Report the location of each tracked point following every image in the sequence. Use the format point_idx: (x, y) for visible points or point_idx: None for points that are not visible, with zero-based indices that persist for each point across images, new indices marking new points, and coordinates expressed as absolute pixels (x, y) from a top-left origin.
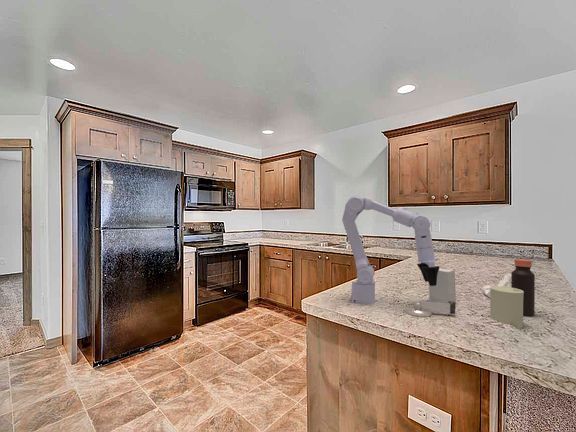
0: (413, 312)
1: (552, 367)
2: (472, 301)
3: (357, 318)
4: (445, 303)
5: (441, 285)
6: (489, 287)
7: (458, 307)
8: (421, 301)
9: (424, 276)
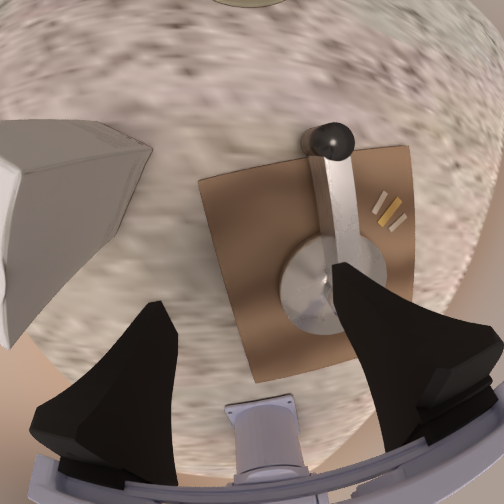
0: None
1: (493, 39)
2: (4, 86)
3: None
4: (353, 178)
5: (85, 206)
6: None
7: (95, 113)
8: None
9: (169, 369)
